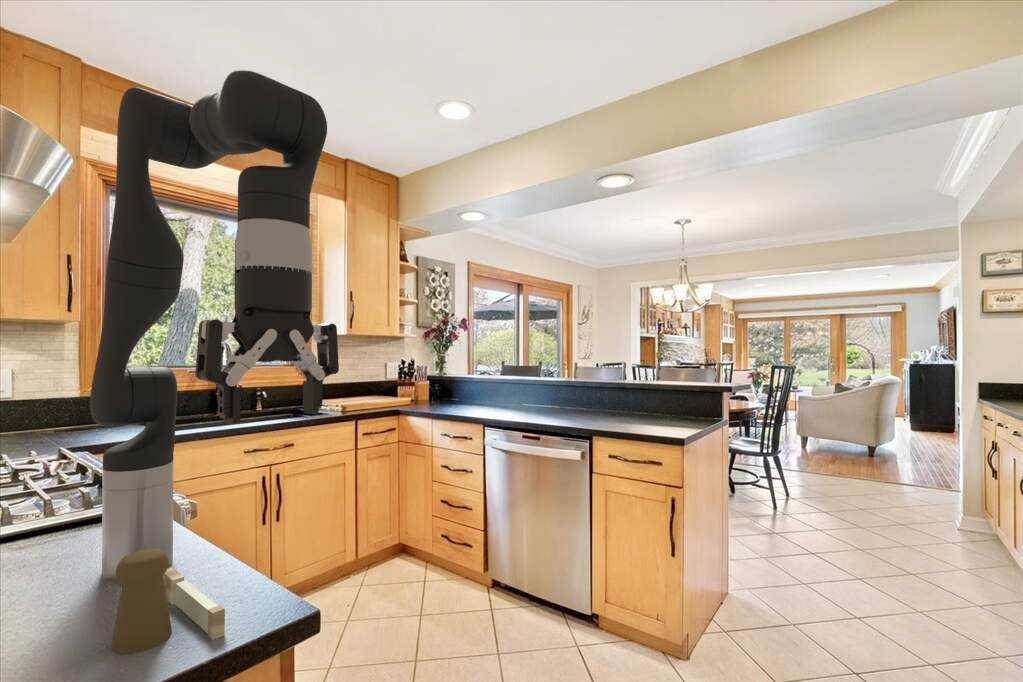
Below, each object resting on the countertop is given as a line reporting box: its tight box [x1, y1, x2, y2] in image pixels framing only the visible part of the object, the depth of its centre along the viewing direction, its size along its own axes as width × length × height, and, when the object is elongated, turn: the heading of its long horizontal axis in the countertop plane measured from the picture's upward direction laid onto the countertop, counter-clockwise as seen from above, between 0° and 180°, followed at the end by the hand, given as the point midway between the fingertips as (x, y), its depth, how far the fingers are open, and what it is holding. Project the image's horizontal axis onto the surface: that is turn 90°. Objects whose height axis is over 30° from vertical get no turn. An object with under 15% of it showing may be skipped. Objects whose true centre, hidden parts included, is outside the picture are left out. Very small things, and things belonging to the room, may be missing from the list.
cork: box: [110, 549, 173, 655], centre depth 59 cm, size 6×6×11 cm
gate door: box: [175, 579, 219, 635], centre depth 64 cm, size 11×1×3 cm, turn 52°
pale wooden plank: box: [163, 566, 226, 641], centre depth 65 cm, size 18×1×4 cm, turn 52°
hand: (273, 417), depth 52 cm, fingers open, 8 cm apart
